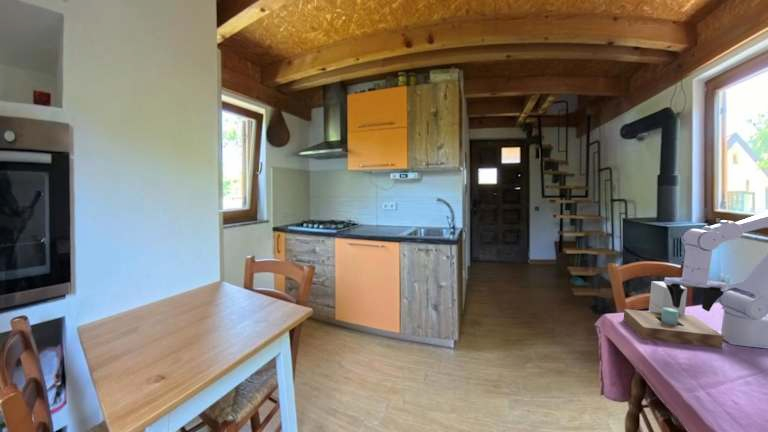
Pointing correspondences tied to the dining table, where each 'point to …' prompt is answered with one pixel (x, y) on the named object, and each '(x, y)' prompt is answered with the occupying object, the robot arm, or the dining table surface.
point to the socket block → (673, 329)
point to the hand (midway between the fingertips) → (690, 308)
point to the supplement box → (664, 298)
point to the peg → (669, 316)
